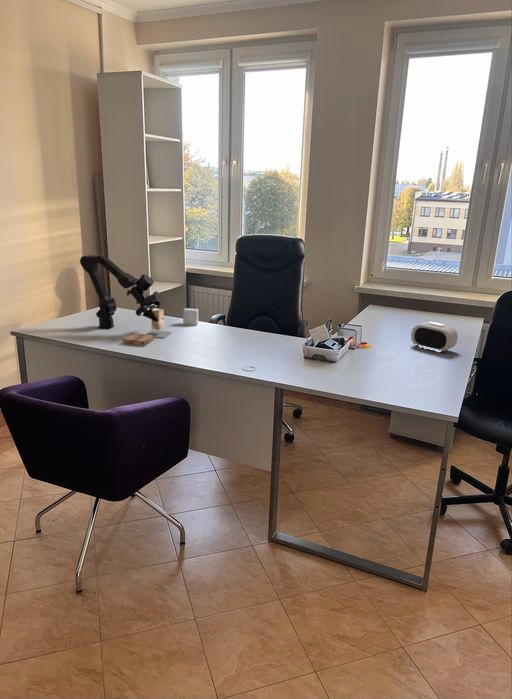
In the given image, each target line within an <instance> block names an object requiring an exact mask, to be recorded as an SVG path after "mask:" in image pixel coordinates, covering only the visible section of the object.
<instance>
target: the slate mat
mask: <svg viewBox="0 0 512 699" xmlns="http://www.w3.org/2000/svg"><path fill="white" fill-rule="evenodd" d="M145 334H146V335H153V339H154V338H155V339H162V338H163V340H164V339H166V338H167V337H169V336H170V335H171V334H173V332H172V331H166V330H165V331H164V330H154V329H151V330H150V331H148V332H147V333H145ZM168 335H169V336H168Z"/></svg>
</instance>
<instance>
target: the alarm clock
mask: <svg viewBox="0 0 512 699" xmlns="http://www.w3.org/2000/svg"><path fill="white" fill-rule="evenodd" d="M410 340H411V342H412V343H413V345H415V344H417V345H421V346H426V347H430V348H434V349H438V350H442V351H443V352H446V351H448V350H450V349H452V348H454V347H455V346H456V344H457V342H458V331H457V330H456V329H455V328H454V327H452V326H449V325H446V324H444V323H441V322H440V323H439V322H434V321H425V322H422V323H420V324H417V325H415V326H414V327H413V328H412V330H411V333H410Z"/></svg>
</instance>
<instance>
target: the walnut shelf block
mask: <svg viewBox="0 0 512 699" xmlns="http://www.w3.org/2000/svg"><path fill="white" fill-rule="evenodd" d="M146 334H147V333H135V332H134V333H133V332H132V333H131V334H129V335H127V336H125V337H124V338H123V339H122V344H123V345H127V346H128V345H130V346H136V347H137V346H140V347H145V346H146V347H147V345H149V344H150V343H152V342H153V341H154V338H153V335H146Z"/></svg>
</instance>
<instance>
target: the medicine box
mask: <svg viewBox="0 0 512 699" xmlns="http://www.w3.org/2000/svg"><path fill="white" fill-rule="evenodd" d="M182 325H183V326H196V327H197V326H198V325H199V309H198V308H188V307H187V308H186V307H185V308H184V309H183V310H182Z"/></svg>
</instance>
